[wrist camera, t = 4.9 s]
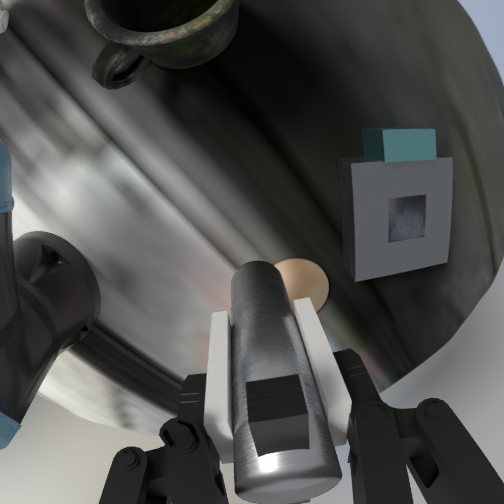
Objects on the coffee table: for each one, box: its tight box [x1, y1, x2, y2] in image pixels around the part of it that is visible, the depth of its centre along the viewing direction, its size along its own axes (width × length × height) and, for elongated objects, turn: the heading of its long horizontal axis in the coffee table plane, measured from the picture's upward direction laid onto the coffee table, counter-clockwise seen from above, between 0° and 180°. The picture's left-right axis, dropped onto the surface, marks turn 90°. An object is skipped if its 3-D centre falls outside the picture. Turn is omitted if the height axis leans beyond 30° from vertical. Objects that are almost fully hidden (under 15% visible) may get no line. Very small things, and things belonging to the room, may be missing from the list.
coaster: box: [274, 258, 329, 315], centre depth 35 cm, size 8×8×1 cm
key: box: [231, 261, 342, 504], centre depth 13 cm, size 3×6×13 cm, turn 8°
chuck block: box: [337, 127, 453, 282], centre depth 30 cm, size 12×15×5 cm
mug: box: [85, 0, 240, 90], centre depth 19 cm, size 11×15×12 cm
